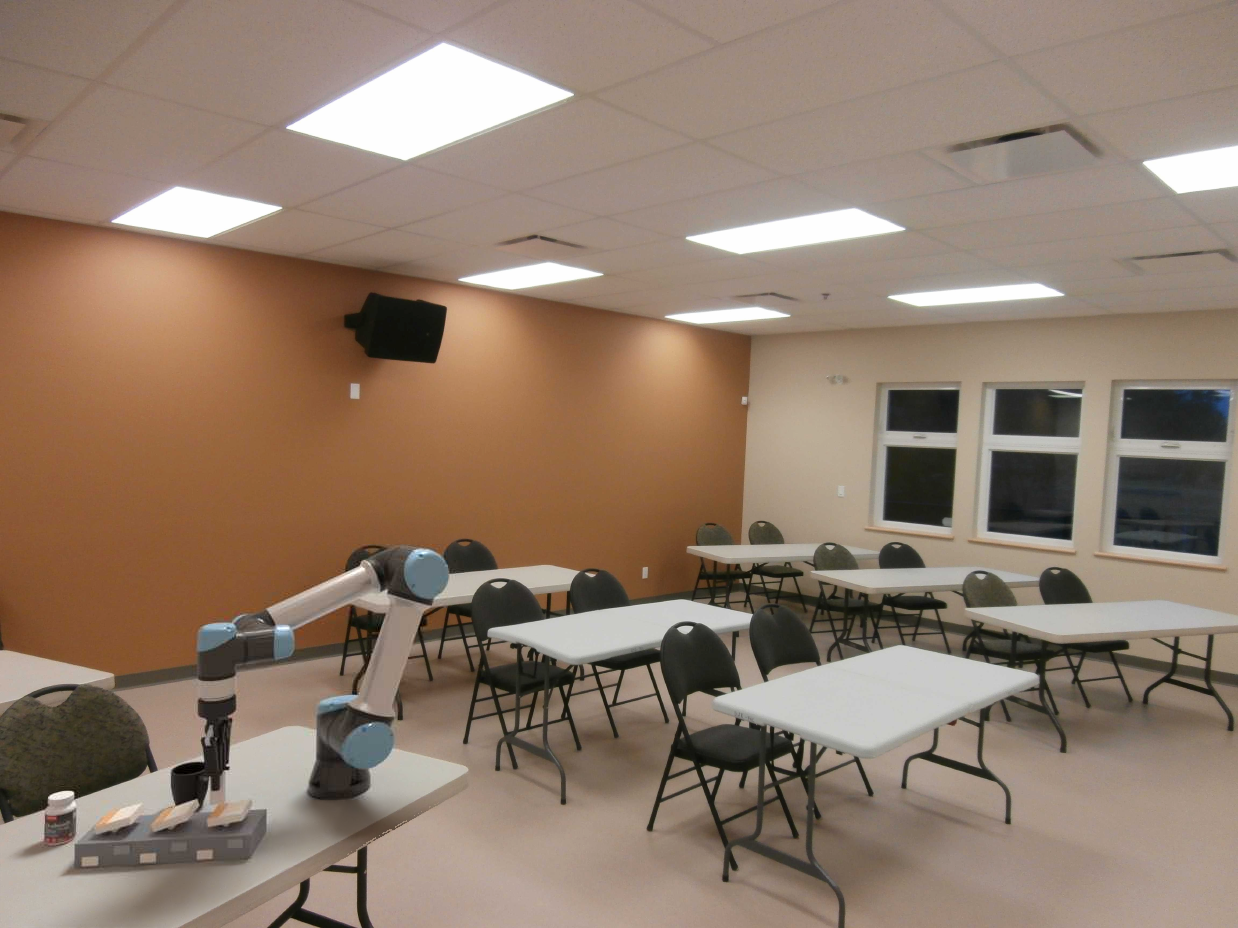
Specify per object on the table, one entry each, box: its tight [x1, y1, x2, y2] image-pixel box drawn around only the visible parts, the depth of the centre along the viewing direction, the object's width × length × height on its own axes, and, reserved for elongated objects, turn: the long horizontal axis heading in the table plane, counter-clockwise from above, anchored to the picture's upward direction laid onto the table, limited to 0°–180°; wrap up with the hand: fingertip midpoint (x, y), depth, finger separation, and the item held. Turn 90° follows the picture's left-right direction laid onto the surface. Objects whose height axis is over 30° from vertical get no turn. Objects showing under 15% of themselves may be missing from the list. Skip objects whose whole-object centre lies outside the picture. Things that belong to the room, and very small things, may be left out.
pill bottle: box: [43, 790, 77, 847], centre depth 172 cm, size 6×6×10 cm
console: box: [73, 808, 268, 870], centre depth 169 cm, size 34×12×6 cm, turn 99°
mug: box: [170, 761, 210, 811], centre depth 188 cm, size 8×12×10 cm
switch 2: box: [151, 799, 199, 832], centre depth 169 cm, size 7×7×2 cm
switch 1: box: [94, 802, 146, 834], centre depth 167 cm, size 7×7×2 cm
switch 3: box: [207, 798, 253, 827], centre depth 171 cm, size 7×7×2 cm
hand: (217, 802), depth 171 cm, fingers closed
